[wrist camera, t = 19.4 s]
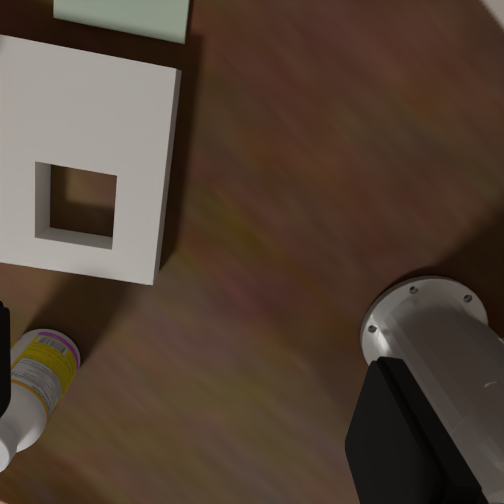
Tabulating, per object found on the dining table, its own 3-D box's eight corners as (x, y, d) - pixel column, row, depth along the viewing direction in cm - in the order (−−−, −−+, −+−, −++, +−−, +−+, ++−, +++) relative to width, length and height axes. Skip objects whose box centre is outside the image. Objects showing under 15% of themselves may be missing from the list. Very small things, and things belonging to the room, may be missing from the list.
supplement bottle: (30, 385, 45) (-49, 492, 33) (6, 331, 42) (-87, 425, 30) (91, 375, 44) (35, 480, 32) (71, 320, 42) (2, 411, 30)
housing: (181, 71, 34) (176, 68, 32) (158, 272, 40) (152, 285, 38) (-76, 20, 33) (-106, 13, 30) (-60, 238, 39) (-83, 249, 36)
